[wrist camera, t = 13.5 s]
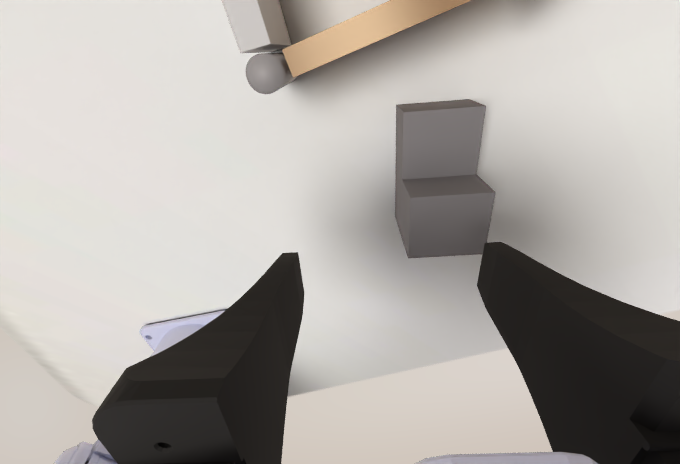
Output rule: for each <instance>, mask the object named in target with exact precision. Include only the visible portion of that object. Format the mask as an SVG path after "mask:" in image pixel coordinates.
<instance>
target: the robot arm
mask: <svg viewBox="0 0 680 464" xmlns="http://www.w3.org/2000/svg"><path fill="white" fill-rule="evenodd" d="M477 287H478V289H479V292H480V295H481V297H482V300H483V302H484V305H485V307H486V309H487V311H488V313H489V315H490V317H491V318H492V320H493V322H494V324H495V326H496V327H497V329H498V331H499V333H500V334H501V336H502V338H503V340H504V341H505V343H506V345H507V347H508V348H509V350H510V352H511V354H512V355H513V357H514V359H515V361H516V363H517V365H518V367H519V369H520V371H521V373H522V375H523V378H524V380H525V382H526V385H527V387H528V389H529V392H530V394H531V396H532V399H533V401H534V404H535V406H536V408H537V411H538V414H539V416H540V418H541V421H542V423H543V426H544V429H545V431H546V434H547V437H548V439H549V442H550V445H551V448H552V450H553V452H537V453H536V452H535V453H534V452H533V453H496V454H495V453H494V454H456V455H443V456H437V457H431V458H425V459H423V460H421V461H419V462H417V463H415V464H680V321H677V320H673V319H670V318H667V317H664V316H661V315H658V314H655V313H652V312H649V311H646V310H643V309H640V308H638V307H635V306H632V305H629V304H626V303H624V302H621V301H619V300H616V299H614V298H611V297H609V296H606V295H604V294H602V293H599V292H597V291H595V290H592V289H590V288H588V287H586V286H583V285H581V284H579V283H577V282H575V281H573V280H571V279H569V278H567V277H565V276H563V275H561V274H559V273H557V272H556V271H554V270H552V269H550V268H548V267H546V266H544V265H543V264H541V263H539V262H537V261H535V260H534V259H532V258H530V257H528V256H527V255H525V254H523V253H521V252H519V251H518V250H516V249H514V248H512V247H510V246H508V245H506V244H504V243H502V242H493V243H485V244H484V250H483V255H482V261H481V266H480V272H479V277H478V283H477ZM303 303H304V288H303V282H302V276H301V269H300V263H299V256H298V252H297V253H282V254H281V256H280V257H279V258H278V259H277V260H276V261H275V262H274V263H273V264H272V266H271V267H270V268H269V269H268V270H267V271H266V272H265V274H264V275H263V276H262V277H261V278H260V279H259V280H258V281H257V282H256V283H255V284H254V285H253V286H252V287H251V288H250V289H249V290H248V291H247V292H246V293H245V294H244V295H243V296H242V297H241V298H240V299H239V300H238V301H237V302H235V303H234V304H233V305H232V306H231V307H229V308H228V309H227V310H226V311H218V312H213V313H208V314H202V315H197V316H192V317H187V318H182V319H177V320H171V321H166V322H161V323H156V324H151V325H145V326H143V327H142V328H141V329H140V331H139V332H140V334H141V335H142V337H143V338H144V339H145V340H146V342H147V343H148V344H149V346H150V347H151V348H152V349H153V351H154V352H153V354H152V355H151V357H149V358H147V359H145V360H143V361H141V362H139V363H137V364H135V365H133V366H130V367H128V368H126V370H125V371H124V372H123V374H122V375H121V377H120V378H119V379H118V381H117V382H116V384H115V385H114V387H113V388H112V390H111V391H110V393H109V394H108V395H107V397H106V398H105V400H104V401H103V403H102V404H101V406H100V407H99V409H98V410H97V411H96V413H95V415H94V417H93V420H92V422H93V430H94V432H95V434H96V436H97V438H98V440H97V441H96V442H95V443H94V444H93V445H92V444H89V443H87V442H81V443H80V444H78V445H77V446H74V447H72V448H70V449H67V450H65V451H64V452H63V453H62V454H61V455H60V456H59V458H58V459H57V460H56V461H55V462H54V464H281V458H282V446H283V434H284V424H285V414H286V403H287V395H288V386H289V377H290V372H291V366H292V361H293V357H294V352H295V348H296V343H297V339H298V334H299V329H300V325H301V320H302V314H303Z"/></svg>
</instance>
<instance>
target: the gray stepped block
mask: <svg viewBox="0 0 680 464" xmlns="http://www.w3.org/2000/svg"><path fill="white" fill-rule="evenodd" d="M485 109H486V106H485V105H482V104H480V103H477V102H474V101H472V100H469V99H466V100H453V101H440V102H428V103H415V104H402V105H396V185H395V217H396V220H397V224H398V227H399V230H400V233H401V237H402V240H403V243H404V246H405V249H406V253H407V256H408V258H421V257H439V256H456V255H474V254H483V250H484V244H485V243H487V237H488V231H489V226H490V220H491V214H492V209H493V203H494V197H495V191H493V190H492V189H491V188H490V187H489V186H488V185H487V184H486V183H485V182H484V181H483V180H482V179H481V178H480V177H478V176H477V175H476V174H477V166H478V159H479V152H480V145H481V138H482V131H483V124H484V116H485Z"/></svg>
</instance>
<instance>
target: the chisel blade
mask: <svg viewBox="0 0 680 464" xmlns="http://www.w3.org/2000/svg"><path fill="white" fill-rule="evenodd" d="M222 3H223V5H224V8H225V11H226V14H227V17H228V20H229V22H230V25H231V28H232V31H233V34H234V36H235V39H236V42H237V45H238V48H239V50H240V53H259V52H273V51H276V50H279V49H283V48H286V47H289V46H291V45H292V44H291V41H290V37H289V34H288V30H287V27H286V23H285V20H284V16H283V13H282V9H281V6H280V2H279V0H222ZM246 77H247V80H248V82H249V84H250V86H251V87H252V88H253V89H254V90H256V91H257V92H259V93H262V94H271V93H273V92H275V91H277V90H278V89H280V88H282V87H283V86H285V85H287V84H289V83H290V82H292V81H294V80H295V79H296V78H297V77H298V76H296V77H294V78H293V76H292V73H291V71H290V69H289V66H288V64H287V61H286V59H285V56H284V54H283V53H264V54H257V55H255V56H253V57H252V58H251V59H250V60H249V61H248V63H247V66H246Z"/></svg>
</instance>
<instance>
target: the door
mask: <svg viewBox="0 0 680 464" xmlns="http://www.w3.org/2000/svg"><path fill="white" fill-rule="evenodd" d="M469 1H471V0H390V1H388V2H386V3H384V4H381V5H379V6H377V7H375V8H373V9H370V10H368V11H366V12H364V13H362V14H359V15H357V16H355V17H353V18H351V19H348V20H346V21H344V22H342V23H340V24H337V25H335V26H333V27H331V28H329V29H326V30H324V31H322V32H320V33H318V34H315V35H313V36H311V37H309V38H307V39H304V40H302V41H300V42H298V43H296V44H293V45H291V46H289V47H287V48H285V49H282V51H283V54H284V56H285V59H286V61H287V64H288V66H289V69H290V71H291V73H292V76H293V78H294V77H296V76H298V75H300V74H303V73H305V72H307V71H310V70H312V69H314V68H317V67H319V66H321V65H324V64H326V63H328V62H330V61H333V60H335V59H337V58H340V57H342V56H344V55H347V54H349V53H351V52H353V51H356V50H358V49H360V48H363V47H365V46H367V45H370V44H372V43H374V42H377V41H379V40H381V39H383V38H386V37H388V36H390V35H393V34H395V33H397V32H400V31H402V30H404V29H406V28H409V27H411V26H413V25H416V24H418V23H420V22H423V21H425V20H427V19H430V18H432V17H434V16H436V15H439V14H441V13H443V12H446V11H448V10H450V9H453V8H455V7H457V6H459V5H462V4H464V3H466V2H469Z"/></svg>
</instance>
